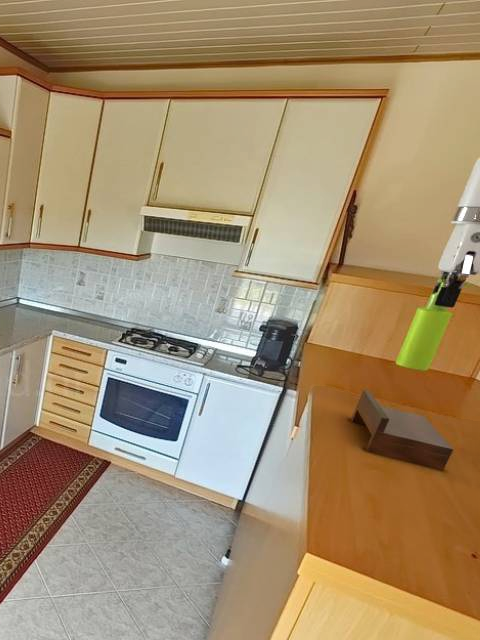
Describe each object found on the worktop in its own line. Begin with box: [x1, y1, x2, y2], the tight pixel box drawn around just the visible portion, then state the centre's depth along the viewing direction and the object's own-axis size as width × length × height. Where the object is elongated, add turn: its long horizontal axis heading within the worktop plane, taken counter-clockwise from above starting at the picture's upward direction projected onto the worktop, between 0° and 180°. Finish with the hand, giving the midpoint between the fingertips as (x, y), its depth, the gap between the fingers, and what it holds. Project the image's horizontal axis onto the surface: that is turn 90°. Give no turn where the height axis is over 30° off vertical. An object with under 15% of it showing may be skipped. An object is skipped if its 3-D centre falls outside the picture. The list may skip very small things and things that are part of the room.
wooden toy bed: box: [350, 389, 455, 472], centre depth 104 cm, size 12×20×8 cm, turn 151°
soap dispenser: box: [395, 278, 472, 371], centre depth 109 cm, size 6×7×20 cm
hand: (441, 304), depth 108 cm, fingers closed on soap dispenser, 3 cm apart
